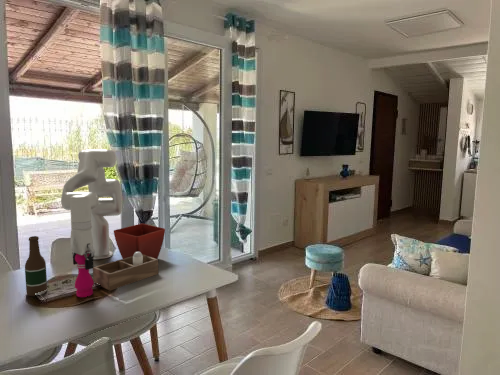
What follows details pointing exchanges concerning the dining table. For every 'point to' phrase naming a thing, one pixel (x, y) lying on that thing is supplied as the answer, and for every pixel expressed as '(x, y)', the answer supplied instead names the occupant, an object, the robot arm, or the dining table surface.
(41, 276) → the beer bottle
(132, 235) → the plant pot
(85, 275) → the pepper mill
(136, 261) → the salt shaker
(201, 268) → the dining table surface
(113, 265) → the caddy
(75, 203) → the robot arm
